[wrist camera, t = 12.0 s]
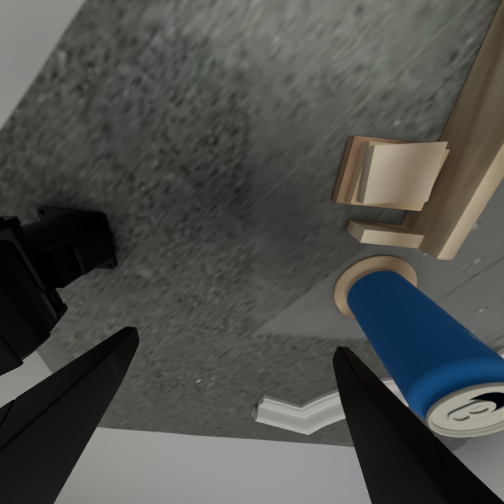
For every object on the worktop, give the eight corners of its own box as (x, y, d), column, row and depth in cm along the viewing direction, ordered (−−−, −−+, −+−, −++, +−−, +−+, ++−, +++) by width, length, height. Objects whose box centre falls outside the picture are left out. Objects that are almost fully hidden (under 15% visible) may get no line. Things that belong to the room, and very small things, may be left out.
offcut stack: (331, 200, 18) (347, 208, 15) (348, 137, 16) (370, 131, 13) (403, 207, 19) (434, 217, 15) (430, 145, 16) (473, 142, 13)
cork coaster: (325, 314, 25) (326, 316, 24) (346, 251, 21) (348, 252, 20) (394, 321, 25) (396, 323, 24) (429, 259, 21) (432, 260, 20)
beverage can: (415, 287, 22) (567, 411, 11) (368, 320, 24) (456, 449, 13) (378, 255, 20) (512, 364, 10) (332, 294, 23) (398, 417, 12)
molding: (531, 336, 26) (562, 355, 24) (518, 388, 31) (542, 409, 28) (243, 394, 34) (242, 414, 31) (267, 429, 39) (267, 448, 36)
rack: (346, 231, 20) (372, 252, 15) (433, -39, 12) (537, -157, 8) (408, 237, 20) (451, 260, 15) (533, -28, 12) (696, -138, 8)
